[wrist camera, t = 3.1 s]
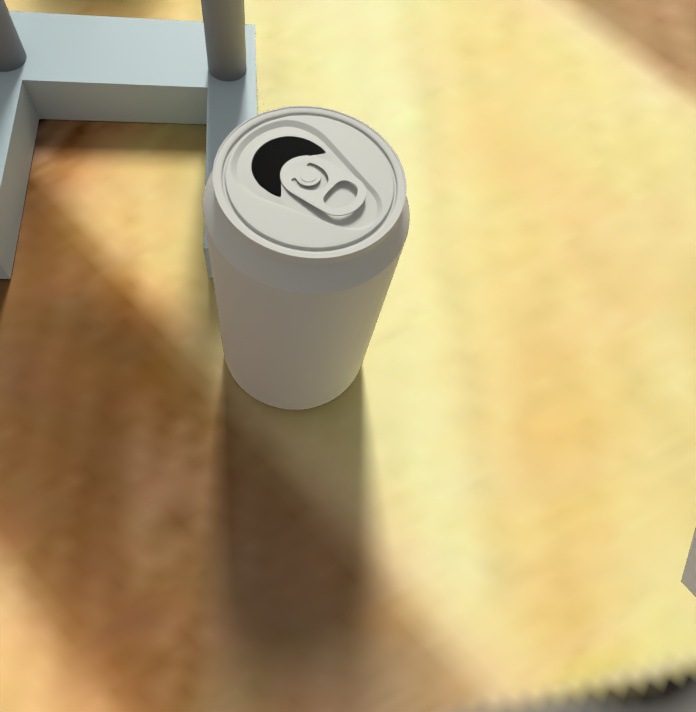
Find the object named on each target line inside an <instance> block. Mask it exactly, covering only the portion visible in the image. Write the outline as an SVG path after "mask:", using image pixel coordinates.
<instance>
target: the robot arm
mask: <svg viewBox="0 0 696 712" xmlns="http://www.w3.org/2000/svg"><path fill="white" fill-rule="evenodd" d="M681 582H682V583H683V584H684V585H685V586H686V587H687V588H688V589H689V590H690V591H691V593H692V594H693V595H694V596H695V597H696V528H695V532H694V535H693V539H692V543H691V547H690V550H689V554H688V558H687V561H686V565H685V569H684V572H683V576H682V580H681Z"/></svg>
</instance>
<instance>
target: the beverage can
mask: <svg viewBox="0 0 696 712" xmlns="http://www.w3.org/2000/svg"><path fill="white" fill-rule="evenodd" d="M203 215H204V222H205V228H206V235H207V242H208V249H209V256H210V262H211V269H212V276H213V283H214V290H215V296H216V303H217V310H218V317H219V323H220V330H221V337H222V344H223V351H224V357H225V360H226V364H227V366H228V369H229V371H230V373H231V375H232V376H233V378H234V379H235V381H236V382H237V383H238V385H239V386H240V387H241V388H242V389H243V390H244V391H245V392H247V393H248V394H249V395H250V396H252V397H253V398H255V399H257V400H258V401H260V402H262V403H265V404H267V405H270V406H273V407H277V408H281V409H289V410H301V409H309V408H313V407H317V406H320V405H323V404H325V403H328V402H330V401H331V400H333V399H335V398H336V397H338V396H339V395H341V394H342V393H343V392H344V391H345V390H346V389H347V388H348V387H349V386H350V385H351V384H352V382H353V381H354V379H355V378H356V376H357V374H358V372H359V370H360V367H361V365H362V362H363V359H364V356H365V353H366V350H367V348H368V345H369V342H370V339H371V336H372V333H373V331H374V328H375V325H376V322H377V319H378V317H379V314H380V311H381V308H382V305H383V302H384V300H385V297H386V294H387V291H388V288H389V285H390V283H391V280H392V277H393V274H394V271H395V268H396V266H397V263H398V260H399V257H400V254H401V252H402V249H403V246H404V243H405V240H406V237H407V234H408V229H409V205H408V200H407V197H406V179H405V174H404V171H403V167H402V165H401V163H400V160H399V158H398V157H397V155H396V153H395V152H394V150H393V149H392V147H391V146H390V145H389V144H388V142H387V141H386V140H385V139H384V138H383V137H382V136H381V135H380V134H379V133H377V132H376V131H375V130H374V129H372V128H371V127H369V126H368V125H367V124H365V123H363V122H362V121H360V120H358V119H356V118H354V117H352V116H349V115H347V114H344V113H341V112H338V111H335V110H331V109H327V108H322V107H313V106H289V107H283V108H278V109H274V110H270V111H266V112H263V113H260V114H258V115H256V116H253V117H252V118H250V119H248V120H246V121H244V122H243V123H242V124H240V125H239V126H237V127H236V128H235V129H234V130H233V131H232V132H231V133H230V134H229V135H228V136H227V137H226V139H225V140H224V141H223V143H222V144H221V146H220V148H219V149H218V152H217V154H216V157H215V160H214V164H213V170H212V172H211V174H210V176H209V178H208V181H207V184H206V187H205V190H204V196H203Z"/></svg>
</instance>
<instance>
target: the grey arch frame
mask: <svg viewBox="0 0 696 712" xmlns="http://www.w3.org/2000/svg"><path fill="white" fill-rule="evenodd" d="M201 4H202V14H203V22H197V21H179V20H162V19H144V18H126V17H108V16H90V15H72V14H55V13H37V12H19V11H8V9H7V7H6V4H5V2H4V0H0V279H11V274H12V269H13V263H14V258H15V252H16V246H17V241H18V235H19V230H20V224H21V219H22V213H23V207H24V202H25V196H26V191H27V185H28V179H29V174H30V168H31V163H32V157H33V152H34V146H35V140H36V135H37V129H38V124H39V119H54V120H85V121H116V122H147V123H178V124H207V136H206V179H205V187H206V184H207V181H208V178H209V176H210V174H211V172H212V170H213V164H214V160H215V157H216V154H217V152H218V149H219V148H220V146H221V144H222V143H223V141H224V140H225V139H226V137H227V136H228V135H229V134H230V133H231V132H232V131H233V130H234V129H235V128H236V127H237V126H239V125H240V124H242V123H243V122H244V121H246V120H248V119H250V118H252V117H253V116H256V115H257V90H256V47H255V25H251V24H245V14H244V0H201ZM204 252H205V258H206V264H207V271H208V277H209V278H213V276H212V269H211V262H210V256H209V249H208V242H207V235H206V228H205V222H204Z"/></svg>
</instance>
